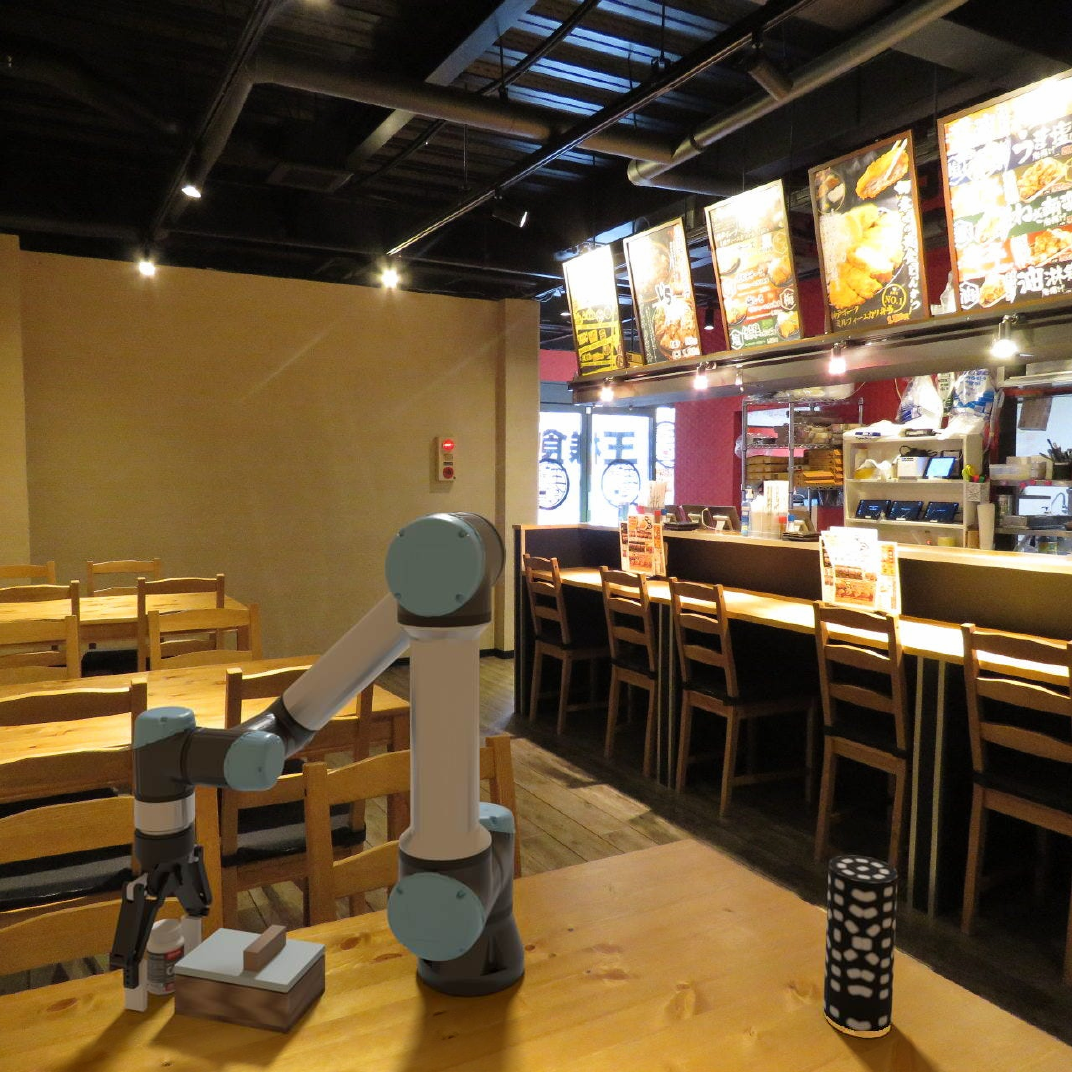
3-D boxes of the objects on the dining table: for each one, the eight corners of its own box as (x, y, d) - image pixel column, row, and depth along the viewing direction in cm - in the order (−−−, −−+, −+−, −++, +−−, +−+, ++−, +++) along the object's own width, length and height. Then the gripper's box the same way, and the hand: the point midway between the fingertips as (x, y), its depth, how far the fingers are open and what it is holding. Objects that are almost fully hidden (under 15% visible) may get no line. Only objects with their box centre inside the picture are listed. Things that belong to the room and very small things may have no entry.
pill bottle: (171, 998, 117) (170, 936, 117) (139, 993, 118) (138, 932, 118) (191, 978, 122) (191, 919, 121) (161, 974, 123) (160, 915, 122)
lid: (325, 951, 119) (325, 926, 119) (286, 992, 110) (286, 965, 110) (220, 934, 123) (220, 910, 123) (174, 972, 114) (174, 946, 114)
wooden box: (325, 990, 120) (325, 953, 119) (286, 1034, 110) (286, 994, 110) (220, 971, 124) (220, 937, 123) (174, 1012, 114) (174, 975, 114)
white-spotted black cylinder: (858, 1046, 110) (865, 888, 109) (809, 1010, 117) (815, 861, 116) (905, 1028, 114) (912, 875, 112) (855, 994, 121) (860, 850, 120)
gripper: (193, 792, 131) (193, 938, 132) (76, 855, 108) (77, 1030, 110) (239, 798, 129) (238, 945, 130) (128, 863, 107) (129, 1040, 108)
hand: (165, 984), depth 120 cm, fingers open, 11 cm apart
